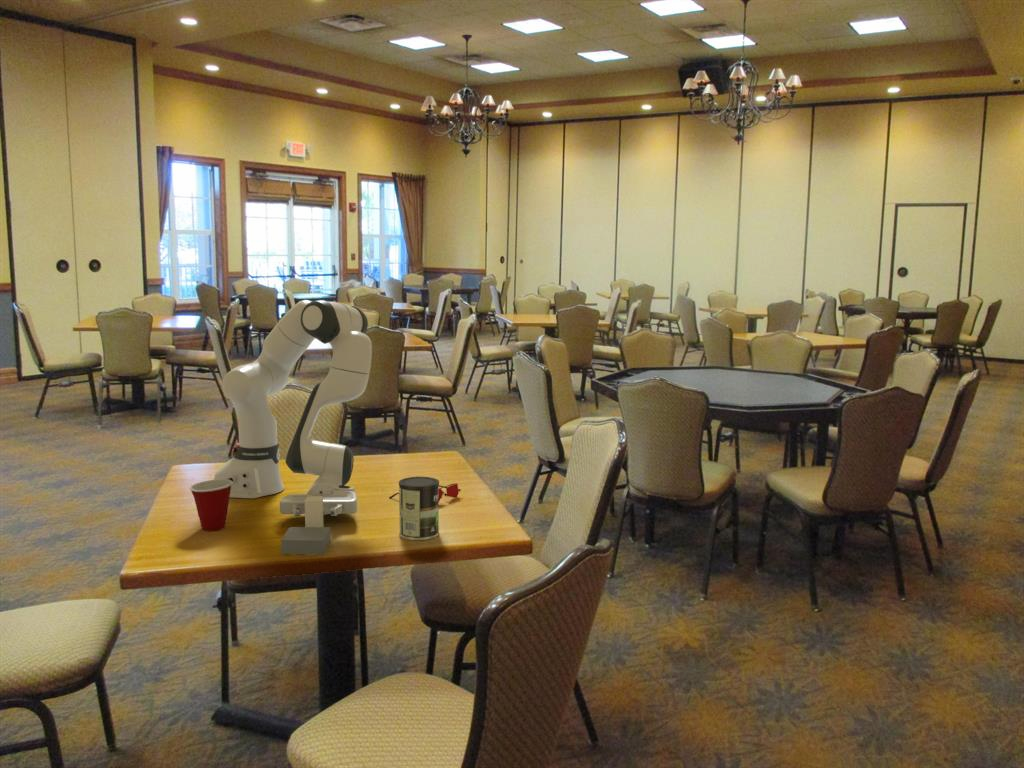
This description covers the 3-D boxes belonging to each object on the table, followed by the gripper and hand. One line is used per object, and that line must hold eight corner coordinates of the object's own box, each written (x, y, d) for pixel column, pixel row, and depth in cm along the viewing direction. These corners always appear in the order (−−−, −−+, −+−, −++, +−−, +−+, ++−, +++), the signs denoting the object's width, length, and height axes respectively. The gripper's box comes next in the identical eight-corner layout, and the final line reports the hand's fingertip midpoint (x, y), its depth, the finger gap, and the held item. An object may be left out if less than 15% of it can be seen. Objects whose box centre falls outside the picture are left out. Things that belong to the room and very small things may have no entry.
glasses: (432, 509, 246) (432, 492, 245) (388, 499, 255) (388, 482, 254) (461, 498, 258) (461, 482, 257) (419, 489, 267) (419, 473, 266)
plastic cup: (200, 520, 231) (198, 477, 229) (240, 521, 230) (238, 478, 229) (183, 533, 220) (181, 488, 218) (225, 534, 220) (224, 489, 218)
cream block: (305, 534, 221) (304, 500, 219) (308, 529, 225) (307, 496, 223) (321, 534, 221) (320, 500, 220) (323, 529, 225) (323, 496, 224)
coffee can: (439, 527, 228) (439, 476, 226) (438, 540, 218) (439, 486, 216) (399, 528, 227) (399, 476, 225) (397, 541, 217) (397, 486, 215)
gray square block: (281, 556, 206) (281, 540, 205) (290, 542, 216) (289, 527, 215) (323, 556, 206) (323, 540, 206) (330, 542, 216) (330, 527, 216)
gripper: (284, 487, 235) (273, 501, 221) (359, 486, 236) (353, 501, 222) (284, 509, 236) (274, 525, 222) (360, 509, 237) (354, 524, 223)
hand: (314, 513), depth 222 cm, fingers open, 8 cm apart
